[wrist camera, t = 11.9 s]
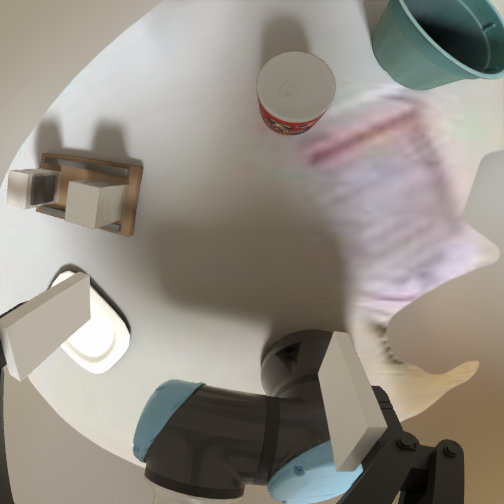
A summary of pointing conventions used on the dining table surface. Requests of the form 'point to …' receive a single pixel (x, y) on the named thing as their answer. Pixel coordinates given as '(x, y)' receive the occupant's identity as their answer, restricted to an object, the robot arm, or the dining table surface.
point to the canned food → (294, 91)
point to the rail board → (57, 180)
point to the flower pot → (440, 42)
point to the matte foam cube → (96, 202)
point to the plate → (97, 334)
